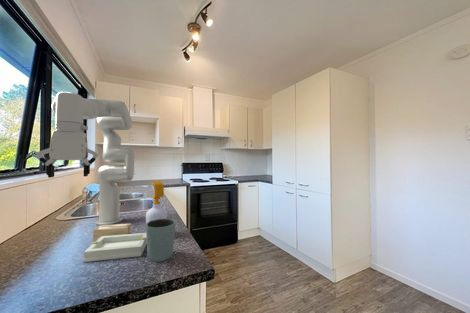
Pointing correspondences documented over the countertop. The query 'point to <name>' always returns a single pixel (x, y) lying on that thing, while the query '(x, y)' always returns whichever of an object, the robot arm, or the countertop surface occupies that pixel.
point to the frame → (111, 230)
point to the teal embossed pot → (160, 239)
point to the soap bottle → (156, 203)
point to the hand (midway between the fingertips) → (69, 176)
